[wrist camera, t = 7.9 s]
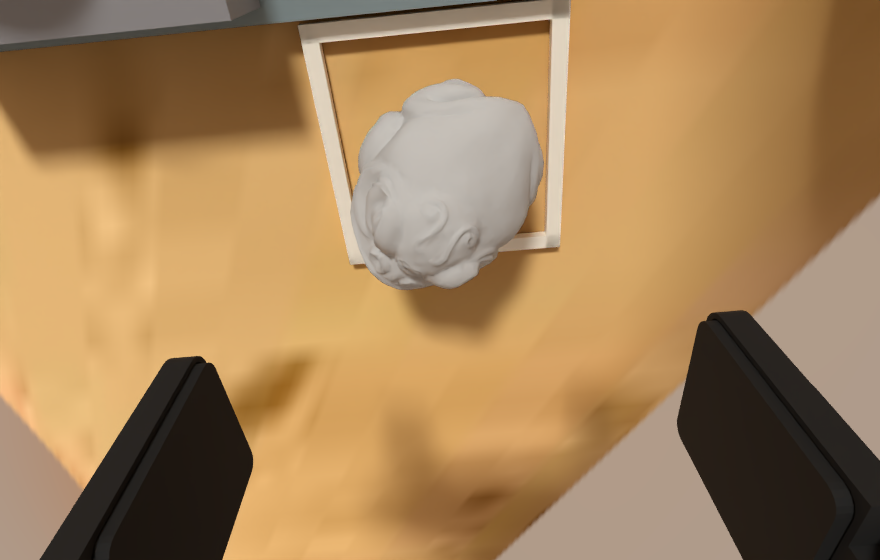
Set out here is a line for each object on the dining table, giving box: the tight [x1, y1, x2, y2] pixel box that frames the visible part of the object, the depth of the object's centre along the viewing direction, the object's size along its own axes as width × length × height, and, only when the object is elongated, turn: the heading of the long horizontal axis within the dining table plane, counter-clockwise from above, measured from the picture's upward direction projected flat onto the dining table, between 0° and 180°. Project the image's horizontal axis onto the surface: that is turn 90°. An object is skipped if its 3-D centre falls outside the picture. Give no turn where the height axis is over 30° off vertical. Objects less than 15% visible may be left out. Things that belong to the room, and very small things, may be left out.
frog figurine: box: [350, 79, 544, 290], centre depth 18 cm, size 6×7×7 cm
